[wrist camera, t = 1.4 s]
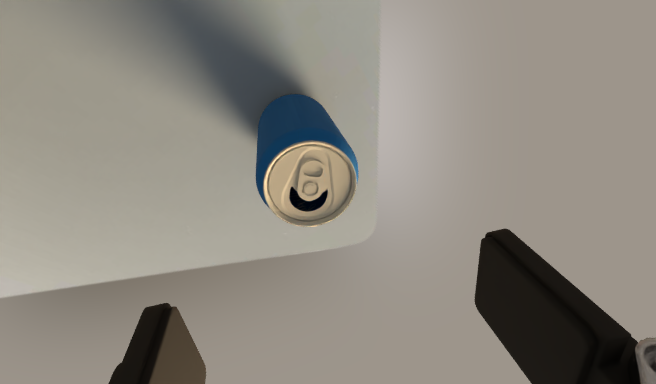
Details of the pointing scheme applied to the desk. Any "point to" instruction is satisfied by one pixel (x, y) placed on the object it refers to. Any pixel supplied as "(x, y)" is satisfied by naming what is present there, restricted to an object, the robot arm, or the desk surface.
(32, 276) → the desk surface
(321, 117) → the beverage can
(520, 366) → the robot arm
